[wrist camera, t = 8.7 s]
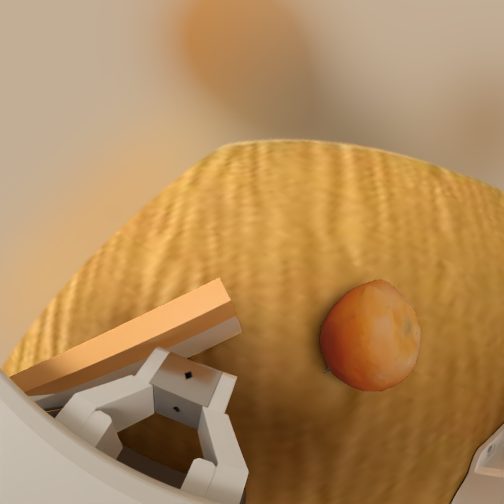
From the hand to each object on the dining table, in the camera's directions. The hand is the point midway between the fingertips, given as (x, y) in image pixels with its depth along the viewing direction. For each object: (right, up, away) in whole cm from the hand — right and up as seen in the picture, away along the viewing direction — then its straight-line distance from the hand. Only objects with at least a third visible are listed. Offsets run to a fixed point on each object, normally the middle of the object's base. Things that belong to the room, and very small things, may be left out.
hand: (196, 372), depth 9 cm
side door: (-7, -6, +10) cm, 14 cm away
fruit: (+11, -3, +12) cm, 17 cm away
